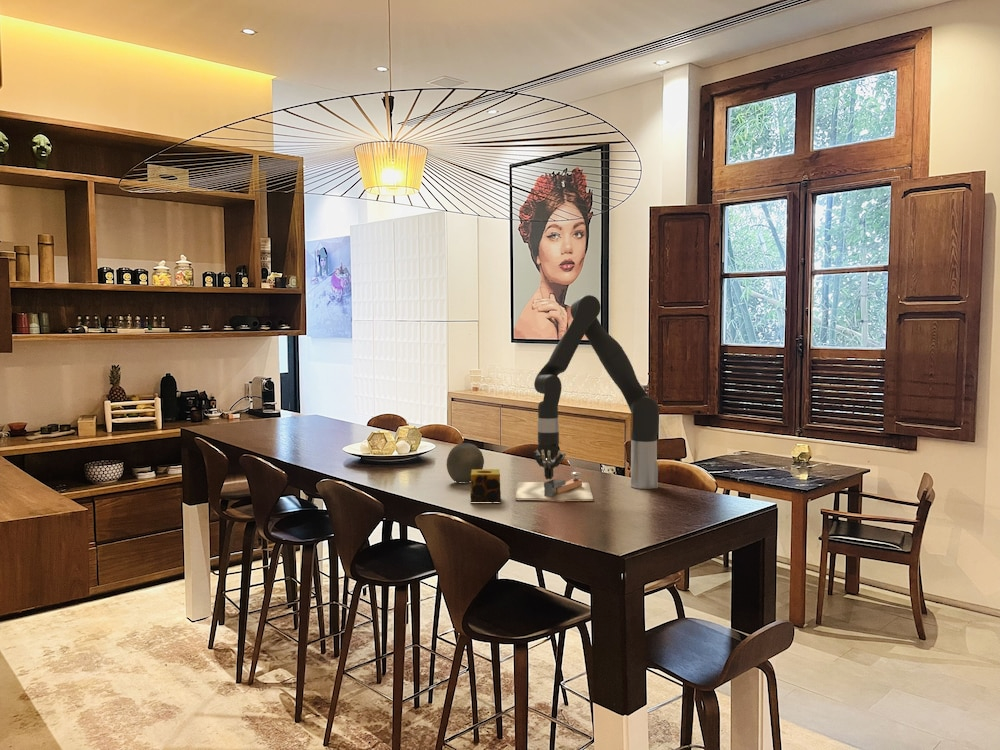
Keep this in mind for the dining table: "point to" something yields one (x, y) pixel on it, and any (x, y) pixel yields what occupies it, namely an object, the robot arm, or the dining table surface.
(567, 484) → the link
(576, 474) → the silver metal ball
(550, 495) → the block
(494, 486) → the candle
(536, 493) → the board
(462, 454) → the dark grey ball
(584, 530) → the dining table surface
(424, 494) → the dining table surface
